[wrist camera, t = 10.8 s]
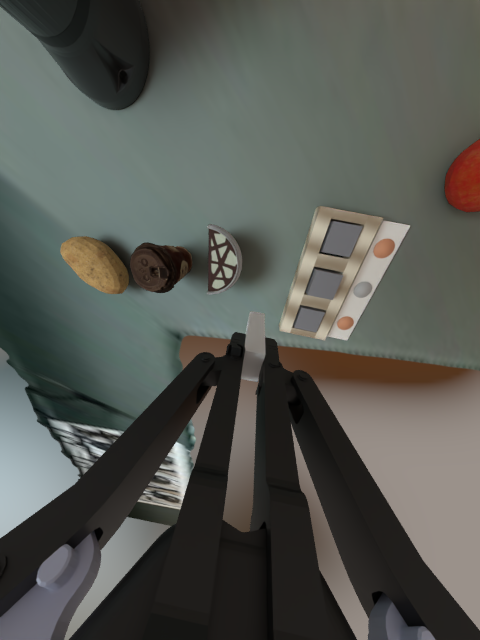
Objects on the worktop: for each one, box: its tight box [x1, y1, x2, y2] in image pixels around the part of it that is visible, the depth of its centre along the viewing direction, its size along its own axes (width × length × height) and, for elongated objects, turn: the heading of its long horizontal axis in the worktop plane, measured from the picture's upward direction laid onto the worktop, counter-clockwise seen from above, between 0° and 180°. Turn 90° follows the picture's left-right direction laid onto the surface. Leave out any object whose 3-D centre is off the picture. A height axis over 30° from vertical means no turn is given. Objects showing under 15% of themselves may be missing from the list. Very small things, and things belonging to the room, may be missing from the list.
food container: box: [206, 224, 242, 294], centre depth 35 cm, size 12×6×10 cm, turn 174°
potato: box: [60, 236, 129, 294], centre depth 40 cm, size 10×14×8 cm
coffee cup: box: [130, 243, 192, 293], centre depth 35 cm, size 9×8×13 cm
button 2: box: [320, 221, 363, 257], centre depth 34 cm, size 5×5×3 cm
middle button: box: [305, 268, 344, 300], centre depth 37 cm, size 5×5×3 cm
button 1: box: [293, 305, 325, 332], centre depth 41 cm, size 5×5×3 cm
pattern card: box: [327, 220, 410, 340], centre depth 39 cm, size 26×5×1 cm, turn 170°
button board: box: [279, 206, 383, 340], centre depth 38 cm, size 26×11×3 cm, turn 170°
